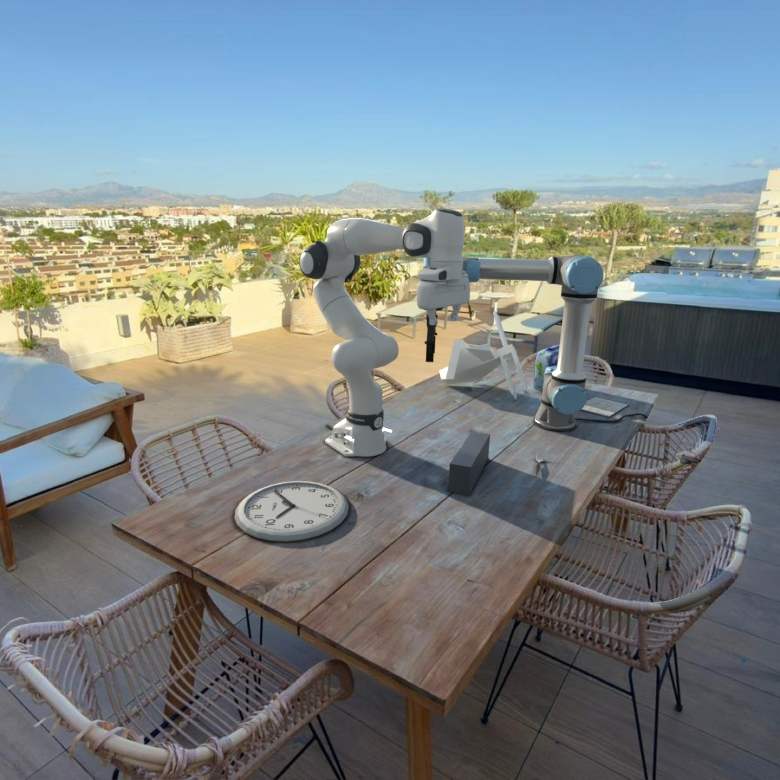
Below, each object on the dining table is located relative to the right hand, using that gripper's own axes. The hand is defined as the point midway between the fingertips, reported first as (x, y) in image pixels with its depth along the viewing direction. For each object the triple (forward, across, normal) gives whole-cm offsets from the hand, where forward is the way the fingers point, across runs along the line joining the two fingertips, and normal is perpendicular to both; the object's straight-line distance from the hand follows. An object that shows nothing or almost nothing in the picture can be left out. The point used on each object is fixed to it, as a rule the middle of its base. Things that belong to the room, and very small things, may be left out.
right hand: (430, 357), depth 189 cm
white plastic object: (+28, -50, +22) cm, 61 cm away
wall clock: (+28, +65, -33) cm, 78 cm away
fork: (+28, +27, +37) cm, 54 cm away
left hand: (-20, +40, +5) cm, 44 cm away
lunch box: (+28, -61, +57) cm, 88 cm away
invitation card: (+28, -38, +73) cm, 87 cm away
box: (+28, +36, +15) cm, 48 cm away
